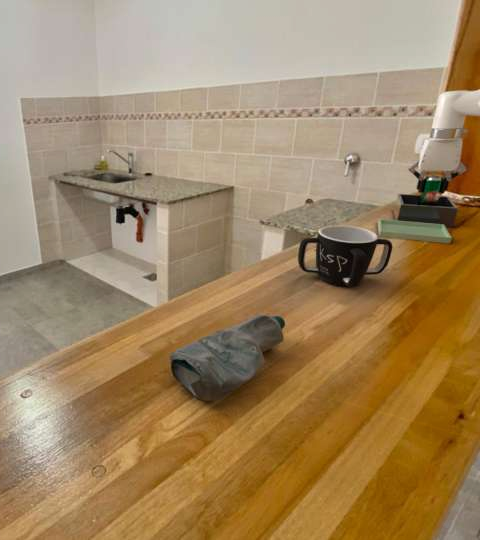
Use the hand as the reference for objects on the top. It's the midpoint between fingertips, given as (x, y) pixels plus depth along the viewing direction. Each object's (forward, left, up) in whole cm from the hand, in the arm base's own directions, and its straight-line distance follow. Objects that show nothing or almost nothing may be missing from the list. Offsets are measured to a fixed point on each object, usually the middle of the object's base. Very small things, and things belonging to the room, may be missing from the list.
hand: (430, 191), depth 126 cm
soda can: (0, 0, -7) cm, 7 cm away
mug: (+23, +61, -10) cm, 66 cm away
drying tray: (+5, +17, -9) cm, 20 cm away
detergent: (+37, +104, -10) cm, 111 cm away
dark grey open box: (+1, 0, -9) cm, 9 cm away
